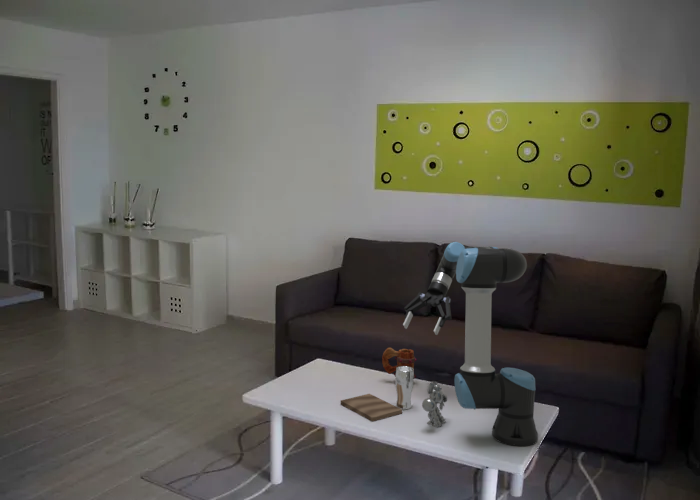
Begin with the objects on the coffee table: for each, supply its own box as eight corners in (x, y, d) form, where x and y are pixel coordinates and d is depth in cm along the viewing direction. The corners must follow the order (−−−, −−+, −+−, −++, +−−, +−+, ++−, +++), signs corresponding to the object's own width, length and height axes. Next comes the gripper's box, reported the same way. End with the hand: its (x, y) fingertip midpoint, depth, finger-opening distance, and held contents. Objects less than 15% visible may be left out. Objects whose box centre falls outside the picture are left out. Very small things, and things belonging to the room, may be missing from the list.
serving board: (402, 413, 238) (402, 409, 238) (372, 421, 230) (372, 417, 230) (369, 397, 254) (369, 393, 254) (340, 404, 246) (340, 400, 246)
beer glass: (391, 404, 247) (392, 366, 245) (407, 402, 249) (409, 365, 247) (399, 410, 240) (400, 372, 239) (415, 408, 243) (417, 370, 241)
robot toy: (433, 433, 221) (434, 391, 219) (417, 429, 224) (418, 388, 222) (450, 419, 233) (451, 380, 231) (434, 416, 236) (436, 376, 234)
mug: (415, 380, 275) (417, 346, 273) (416, 386, 267) (417, 351, 265) (381, 378, 277) (382, 344, 275) (380, 385, 269) (381, 350, 267)
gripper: (470, 296, 254) (451, 341, 244) (415, 287, 269) (395, 329, 259) (465, 285, 249) (445, 330, 239) (409, 276, 264) (389, 319, 254)
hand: (419, 330), depth 249 cm, fingers open, 13 cm apart
